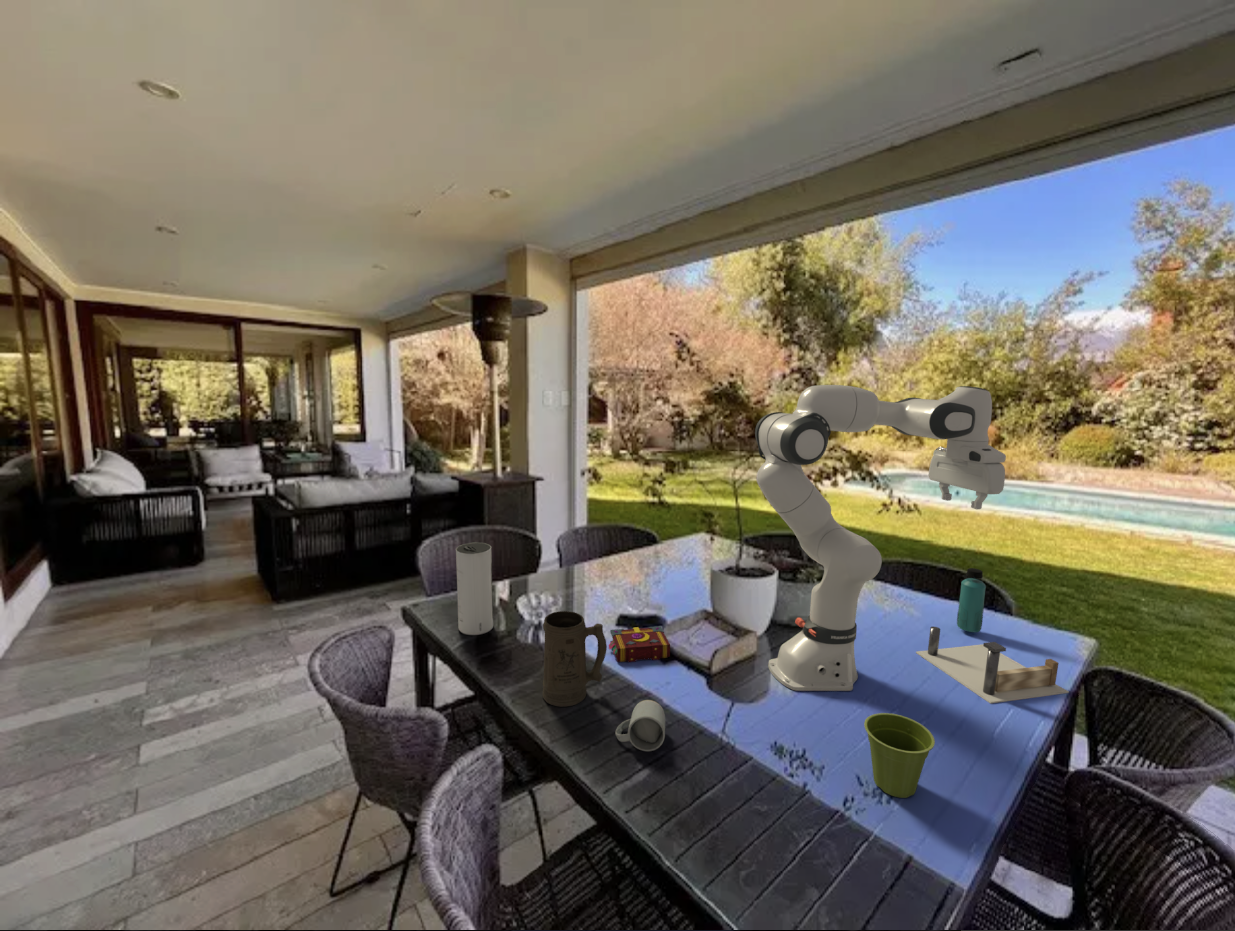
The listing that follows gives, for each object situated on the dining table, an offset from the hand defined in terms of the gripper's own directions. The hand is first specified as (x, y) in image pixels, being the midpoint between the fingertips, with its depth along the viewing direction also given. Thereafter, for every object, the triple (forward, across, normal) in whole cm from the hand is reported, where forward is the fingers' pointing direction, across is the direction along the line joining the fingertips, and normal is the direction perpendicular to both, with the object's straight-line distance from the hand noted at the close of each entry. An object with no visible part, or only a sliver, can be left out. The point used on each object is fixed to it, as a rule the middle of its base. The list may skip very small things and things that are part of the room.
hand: (960, 504), depth 142 cm
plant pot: (+44, +36, -44) cm, 72 cm away
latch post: (+45, -5, +1) cm, 45 cm away
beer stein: (+44, -6, -100) cm, 109 cm away
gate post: (+45, +14, 0) cm, 47 cm away
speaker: (+44, -46, -125) cm, 140 cm away
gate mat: (+45, +6, +8) cm, 46 cm away
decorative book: (+44, -23, -80) cm, 94 cm away
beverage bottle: (+45, -15, +22) cm, 52 cm away
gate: (+44, +14, +10) cm, 47 cm away
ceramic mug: (+44, +14, -88) cm, 100 cm away
